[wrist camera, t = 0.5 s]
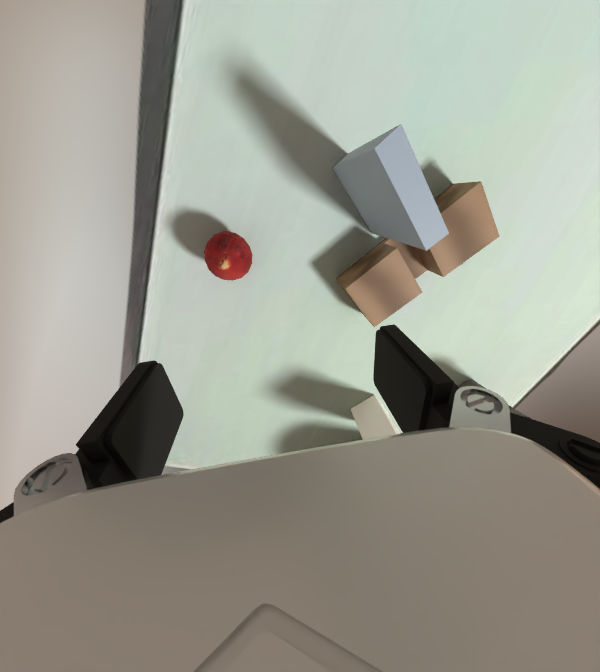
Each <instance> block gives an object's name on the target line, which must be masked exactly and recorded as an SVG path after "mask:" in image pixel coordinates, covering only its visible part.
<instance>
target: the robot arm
mask: <svg viewBox="0 0 600 672" xmlns="http://www.w3.org/2000/svg"><path fill="white" fill-rule="evenodd" d="M374 384H375V386H376V388H377V389H378V391H379V393H380V394H381V396H382V398H383V400H384V401H385V403H386V405H387V406H388V408H389V410H390V411H391V413H392V415H393V416H394V418H395V420H396V422H397V423H398V425H399V427H400V428H401V430H402V432H403V433H400V434H394V435H387V436H381V437H375V438H369V439H363V440H357V441H351V442H345V443H339V444H334V445H328V446H322V447H316V448H310V449H304V450H299V451H293V452H287V453H282V454H276V455H270V456H264V457H259V458H253V459H248V460H242V461H236V462H231V463H225V464H220V465H214V466H209V467H203V468H198V469H192V470H187V471H181V472H176V473H170V474H165V475H161V474H162V471H163V469H164V466H165V463H166V461H167V458H168V455H169V453H170V450H171V447H172V445H173V442H174V440H175V437H176V434H177V432H178V429H179V426H180V424H181V421H182V418H183V409H182V407H181V404H180V402H179V400H178V398H177V396H176V394H175V391H174V389H173V387H172V385H171V383H170V381H169V378H168V376H167V374H166V372H165V370H164V368H163V366H162V364H160V363H157V362H156V361H149V362H142V363H139V364H138V365H137V366H136V367H135V369H134V370H133V371H132V373H131V374H130V375H129V376H128V378H127V379H126V380H125V382H124V383H123V384H122V386H121V387H120V388H119V389H118V391H117V392H116V393H115V395H114V396H113V397H112V398H111V400H110V401H109V402H108V404H107V405H106V406H105V408H104V409H103V410H102V412H101V413H100V414H99V415H98V417H97V418H96V419H95V421H94V422H93V423H92V424H91V426H90V427H89V428H88V429H87V431H86V432H85V433H84V435H83V436H82V437H81V439H80V440H79V441H78V442H77V444H76V446H77V447H78V448H79V450H78V451H77V453H76V454H72V453H67V454H61V455H58V456H55V457H53V458H51V459H49V460H47V461H45V462H43V463H42V464H40V465H38V466H37V467H36V468H34V469H33V470H32V471H31V472H29V473H28V474H27V475H26V476H25V477H24V478H23V479H22V480H21V482H20V483H19V484H18V486H17V488H16V489H15V493H14V502H13V503H12V504H10V505H9V506H7V507H5V508H4V509H3V510H1V511H0V672H600V443H598V442H596V441H595V440H592V439H590V438H587V437H585V436H582V435H579V434H576V433H573V432H570V431H567V430H563V429H560V428H557V427H554V426H551V425H548V424H545V423H542V422H538V421H536V420H532V419H529V418H526V417H523V416H520V415H517V414H514V413H511V412H510V410H509V406H508V403H507V402H506V401H505V400H504V399H503V398H502V397H501V396H499V395H498V394H497V393H495V392H493V391H491V390H488V389H485V388H482V387H477V386H465V387H461V388H459V387H458V386H457V385H456V384H455V383H454V381H452V380H451V379H450V378H449V377H448V376H447V375H446V374H445V373H444V372H443V371H442V370H441V369H440V368H439V367H438V366H437V365H436V364H435V363H434V362H433V361H432V360H431V359H430V358H429V357H428V356H427V355H426V354H425V353H424V352H422V351H421V350H420V349H419V348H418V347H417V346H416V345H415V344H414V343H413V342H412V341H411V340H410V339H409V338H408V337H407V336H406V335H405V334H404V333H403V332H402V331H401V330H400V329H399V328H398V327H397V326H396V325H388V326H381V327H380V330H377V331H376V342H375V360H374Z"/></svg>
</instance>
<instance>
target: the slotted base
mask: <svg viewBox="0 0 600 672" xmlns="http://www.w3.org/2000/svg"><path fill="white" fill-rule="evenodd" d="M434 200H435V202H436V205H437V207H438V209H439V211H440V214H441V216H442V218H443V220H444V223H445V225H446V227H447V230H448V232H449V234H448V235H446V236H445V237H444V238H442V239H441V240H440V241H438V242H437V243H436V244H434V245H433V246H432V247H431V248H429V249H428V250H427V251H426V250H423V249H420V248H416V247H413V246H410V245H407V244H404V243H401V242H398V241H394V240H391V239H388V238H386V239H385V240H383V241H382V242H381V243H380V244H379V245H377V246H376V247H375V248H374V249H372V250H371V251H370V252H369V253H367V254H366V255H365V256H364V257H363V258H361V259H360V260H359V261H358V262H356V263H355V264H354V265H353V266H351V267H350V268H349V269H348V270H346V271H345V272H344V273H343V274H342V275H340V276H339V277H338V278H337V280H338V282H339V283H340V284H341V286H342V287H343V288H344V290H345V291H346V292H347V294H348V295H349V296H350V298H351V299H352V300H353V301H354V303H355V304H356V305H357V307H358V308H359V309H360V311H361V312H362V313H363V315H364V316H365V317H366V318H367V319H368V321H369V322H370V323H371V324H372V325H373V326H374V327H375V326H377V325H378V324H379V323H381V322H382V321H383V320H385V319H386V318H388V317H389V316H390V315H392V314H393V313H394V312H396V311H397V310H399V309H400V308H401V307H403V306H404V305H406V304H407V303H408V302H410V301H411V300H412V299H414V298H415V297H417V296H418V295H419V294H421V293H422V291H421V289H420V287H419V285H418V284H417V282H416V280H415V279H416V278H417V277H419V276H420V275H421V274H423V273H424V272H425V271H427V270H429V271H431V272H433V273H436V274H438V275H440V276H443V277H444V276H445V275H447V274H448V273H450V272H451V271H452V270H454V269H455V268H457V267H458V266H459V265H461V264H462V263H463V262H465V261H466V260H468V259H469V258H470V257H472V256H473V255H474V254H476V253H477V252H479V251H480V250H481V249H483V248H484V247H485V246H487V245H488V244H490V243H491V242H492V241H494V240H495V239H496V238H498V237H499V234H498V231H497V228H496V225H495V222H494V219H493V216H492V213H491V210H490V207H489V204H488V201H487V198H486V195H485V192H484V189H483V186H482V183H481V182H469V183H457V184H453V185H451V186H450V187H449V188H448V189H446V190H445V191H444V192H443V193H442V194H440V195H439V196H438V197H437V198H435V199H434Z"/></svg>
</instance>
